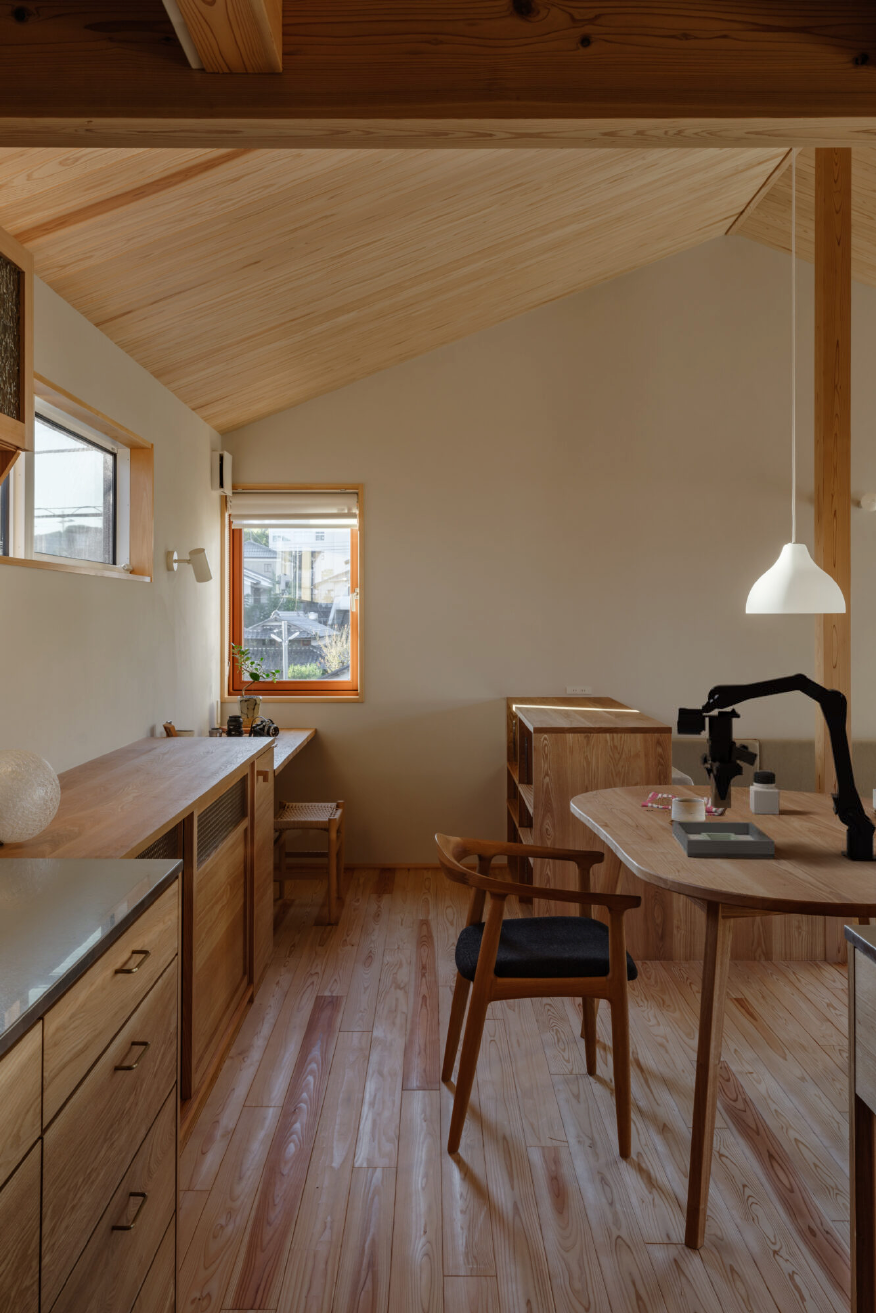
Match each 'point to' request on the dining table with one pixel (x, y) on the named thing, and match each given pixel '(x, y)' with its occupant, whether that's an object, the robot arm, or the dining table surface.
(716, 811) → the dish towel
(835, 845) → the dining table surface
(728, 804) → the peg
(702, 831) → the walled box
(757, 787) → the medicine bottle
